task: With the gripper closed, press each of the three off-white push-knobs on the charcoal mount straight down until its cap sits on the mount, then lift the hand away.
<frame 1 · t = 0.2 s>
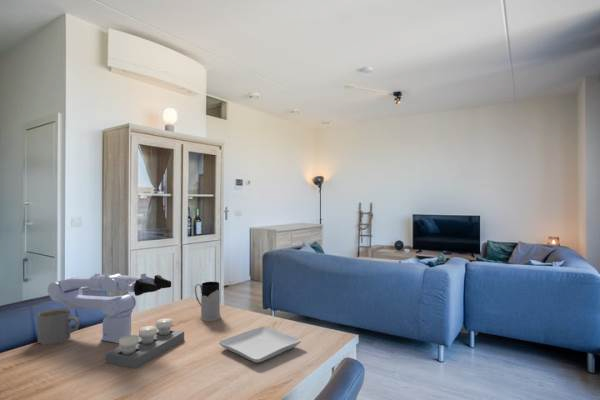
hand: (163, 286, 129), 21 cm above the table, tool horizontal, fingers open, 7 cm apart
knob c: (128, 345, 117), point 5 cm above the table, slide at 2.2 cm
coffee mug: (58, 339, 135), on the table
knob b: (147, 336, 125), point 5 cm above the table, slide at 2.2 cm
grey black pitcher: (206, 317, 160), on the table
knob a: (164, 327, 133), point 5 cm above the table, slide at 2.2 cm
salad plate: (260, 350, 127), on the table
mount: (147, 350, 125), on the table
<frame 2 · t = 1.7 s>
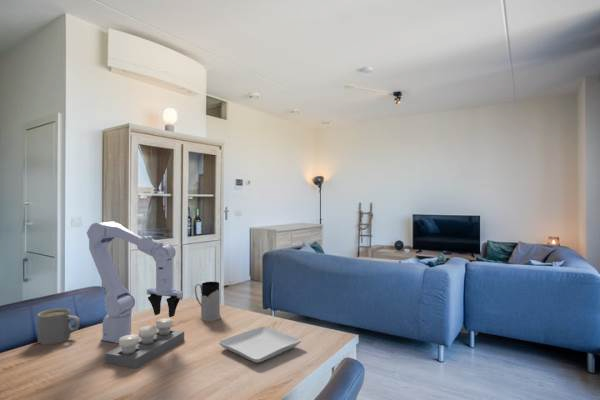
hand: (164, 315, 133), 9 cm above the table, tool pointing down, fingers open, 6 cm apart
nothing on the table moved.
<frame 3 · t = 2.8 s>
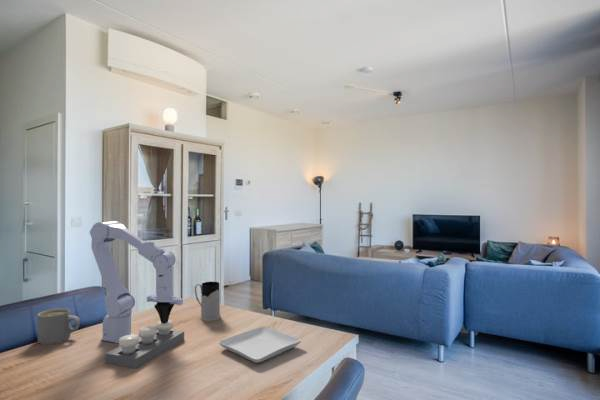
hand: (164, 322, 133), 7 cm above the table, tool pointing down, fingers closed, pressing on knob a
knob a: (164, 329, 133), point 4 cm above the table, slide at 1.6 cm, touching gripper
everything else where it was.
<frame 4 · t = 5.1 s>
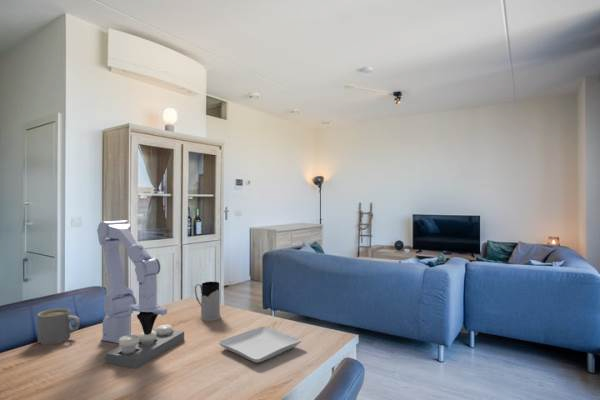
hand: (147, 333, 125), 6 cm above the table, tool pointing down, fingers closed, pressing on knob b
knob b: (147, 340, 125), point 3 cm above the table, slide at 0.6 cm, touching gripper
knob a: (164, 334, 133), point 3 cm above the table, slide at -0.2 cm
everything else where it was.
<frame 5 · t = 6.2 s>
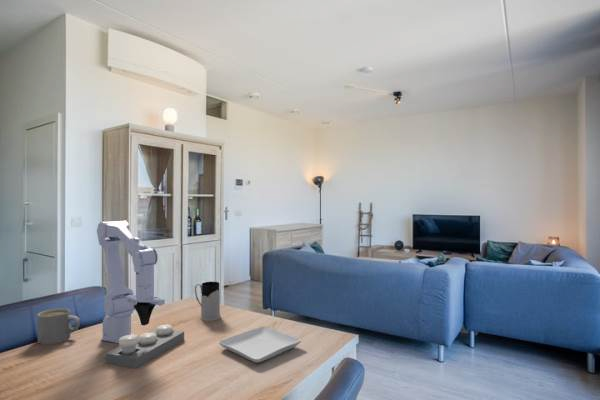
hand: (145, 324, 124), 9 cm above the table, tool pointing down, fingers closed
knob b: (147, 342, 125), point 3 cm above the table, slide at -0.2 cm
everything else where it was.
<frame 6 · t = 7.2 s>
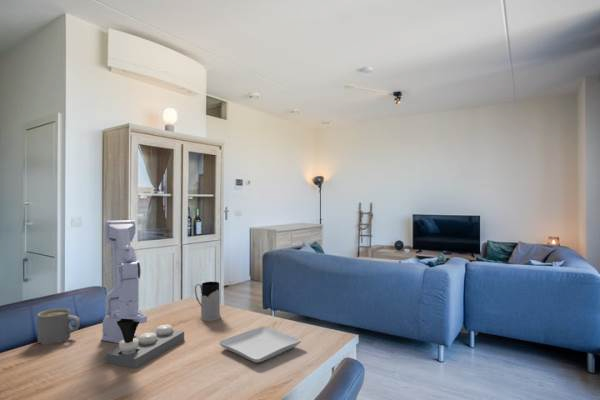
hand: (128, 341, 117), 6 cm above the table, tool pointing down, fingers closed, pressing on knob c
knob c: (128, 349, 117), point 4 cm above the table, slide at 1.0 cm, touching gripper
everything else where it was.
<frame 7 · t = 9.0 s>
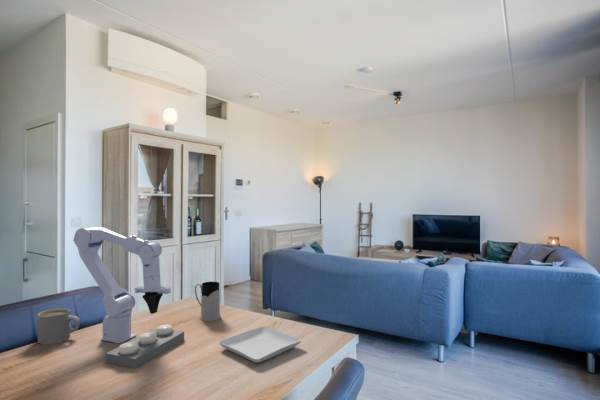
hand: (153, 312, 133), 10 cm above the table, tool pointing down, fingers closed
knob c: (128, 352, 117), point 3 cm above the table, slide at -0.2 cm
everything else where it was.
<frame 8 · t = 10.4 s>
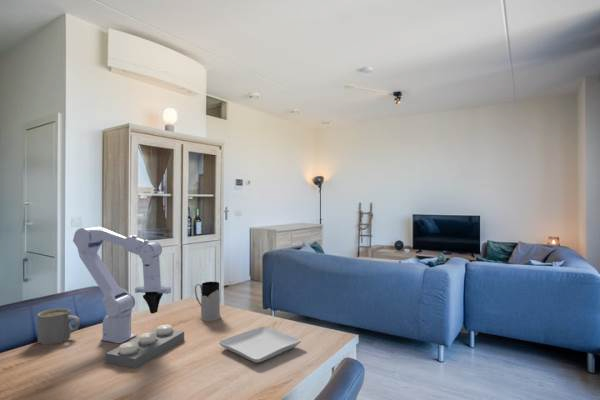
hand: (154, 312, 133), 10 cm above the table, tool pointing down, fingers closed
nothing on the table moved.
at the end: knob a slide at -0.2 cm; knob b slide at -0.2 cm; knob c slide at -0.2 cm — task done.
